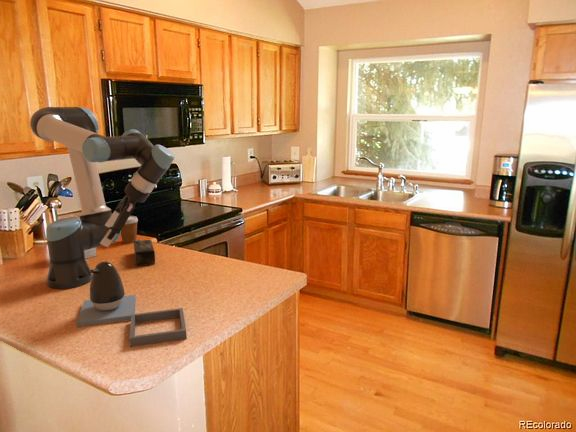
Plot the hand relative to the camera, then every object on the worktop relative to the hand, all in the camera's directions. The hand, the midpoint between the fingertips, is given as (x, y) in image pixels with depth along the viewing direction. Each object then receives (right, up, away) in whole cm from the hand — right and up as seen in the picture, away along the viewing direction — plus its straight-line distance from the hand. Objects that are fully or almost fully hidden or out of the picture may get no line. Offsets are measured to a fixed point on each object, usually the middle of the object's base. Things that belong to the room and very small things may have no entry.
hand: (106, 235), depth 149 cm
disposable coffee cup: (-16, -6, +65) cm, 67 cm away
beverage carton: (0, -12, +40) cm, 42 cm away
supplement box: (-28, -11, +43) cm, 53 cm away
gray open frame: (+24, -27, -22) cm, 42 cm away
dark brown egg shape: (+5, -22, -11) cm, 25 cm away
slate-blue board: (+5, -24, -10) cm, 26 cm away
